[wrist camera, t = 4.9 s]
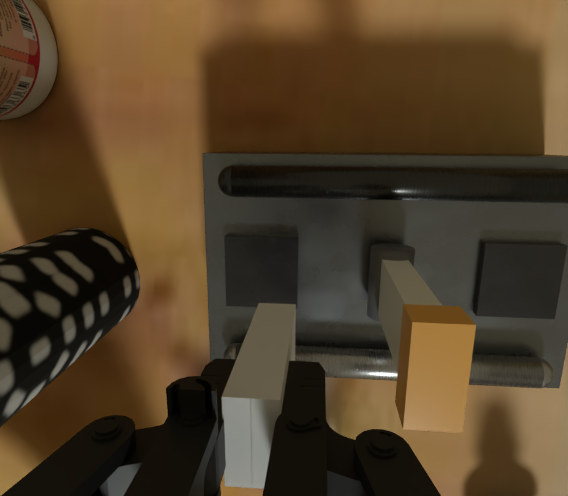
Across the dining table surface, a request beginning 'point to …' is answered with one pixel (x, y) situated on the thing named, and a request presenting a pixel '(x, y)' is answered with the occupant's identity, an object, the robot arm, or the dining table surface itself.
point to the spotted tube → (58, 307)
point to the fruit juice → (25, 58)
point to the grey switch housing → (400, 230)
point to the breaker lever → (421, 341)
